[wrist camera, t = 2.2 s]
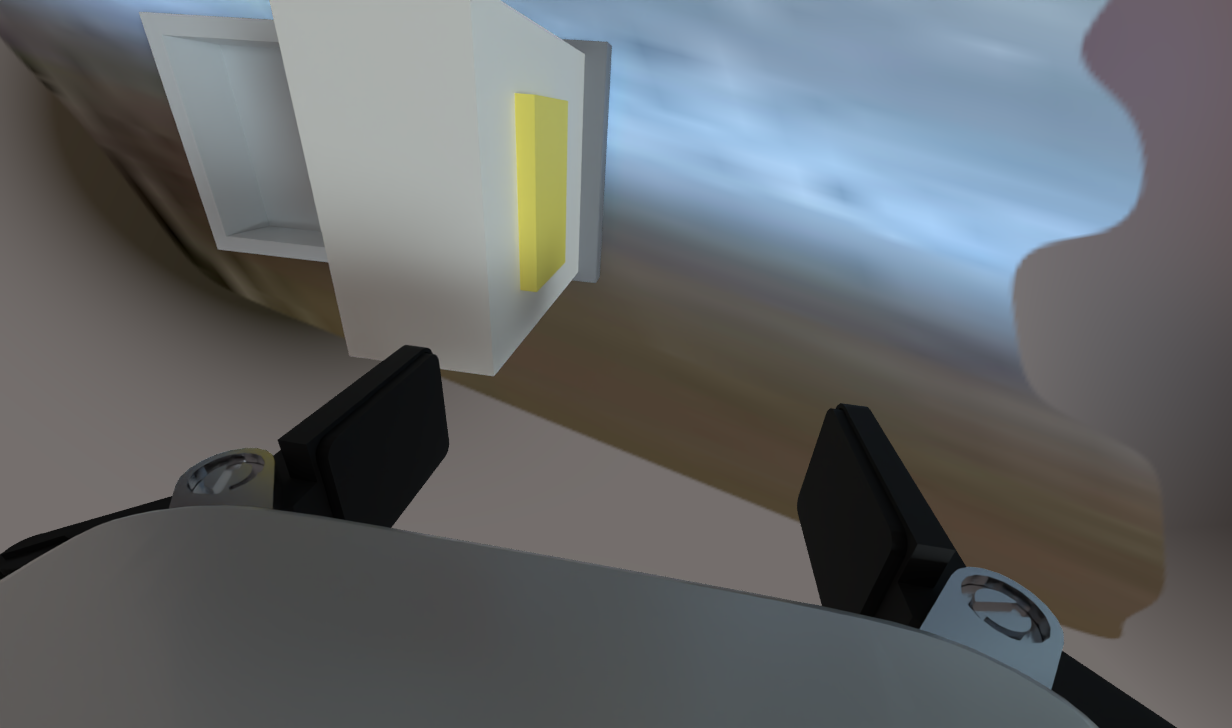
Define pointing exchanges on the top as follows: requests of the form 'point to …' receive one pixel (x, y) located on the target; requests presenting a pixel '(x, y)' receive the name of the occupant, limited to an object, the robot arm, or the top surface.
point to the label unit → (447, 168)
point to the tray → (238, 131)
